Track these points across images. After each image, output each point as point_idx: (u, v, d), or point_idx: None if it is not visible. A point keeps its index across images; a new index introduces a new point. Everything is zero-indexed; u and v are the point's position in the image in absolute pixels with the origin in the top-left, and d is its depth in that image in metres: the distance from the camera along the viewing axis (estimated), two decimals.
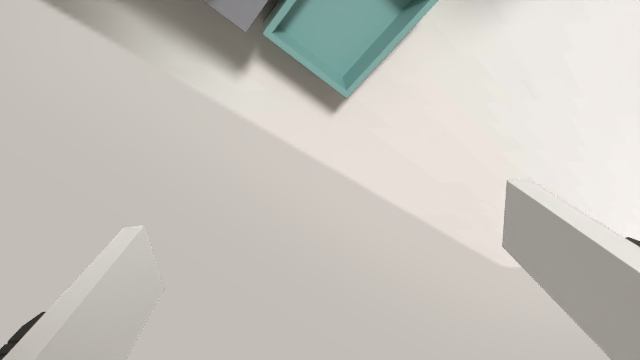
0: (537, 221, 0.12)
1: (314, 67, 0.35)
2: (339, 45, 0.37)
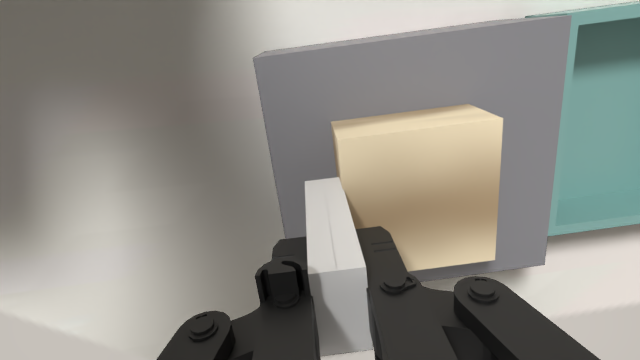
0: None
1: (638, 216, 0.22)
2: (628, 158, 0.24)
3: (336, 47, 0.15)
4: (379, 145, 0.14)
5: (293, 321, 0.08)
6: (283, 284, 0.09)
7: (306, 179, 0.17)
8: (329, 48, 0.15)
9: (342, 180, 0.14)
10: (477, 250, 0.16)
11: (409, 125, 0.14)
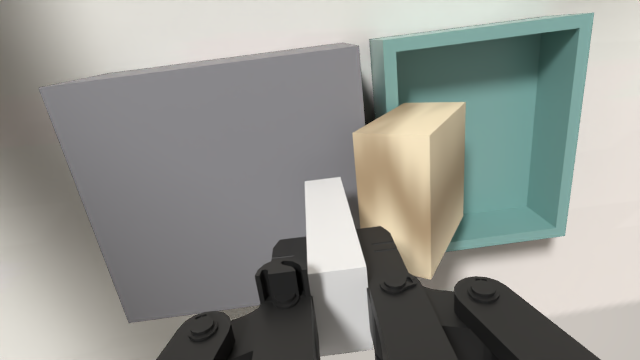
0: None
1: (488, 239, 0.22)
2: (490, 178, 0.24)
3: (123, 77, 0.15)
4: (440, 135, 0.14)
5: (293, 321, 0.08)
6: (283, 284, 0.09)
7: (116, 206, 0.17)
8: (116, 78, 0.15)
9: (430, 177, 0.14)
10: (460, 211, 0.19)
11: (430, 117, 0.16)
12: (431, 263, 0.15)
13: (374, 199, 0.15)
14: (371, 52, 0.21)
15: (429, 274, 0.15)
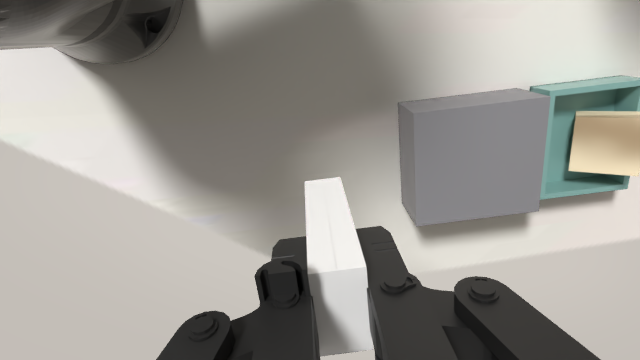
0: None
1: (587, 189, 0.42)
2: None
3: (449, 109, 0.36)
4: None
5: (293, 321, 0.08)
6: (283, 284, 0.09)
7: (429, 166, 0.37)
8: (446, 109, 0.36)
9: None
10: None
11: (612, 112, 0.40)
12: None
13: None
14: None
15: None
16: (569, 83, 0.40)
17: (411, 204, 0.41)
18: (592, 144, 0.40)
